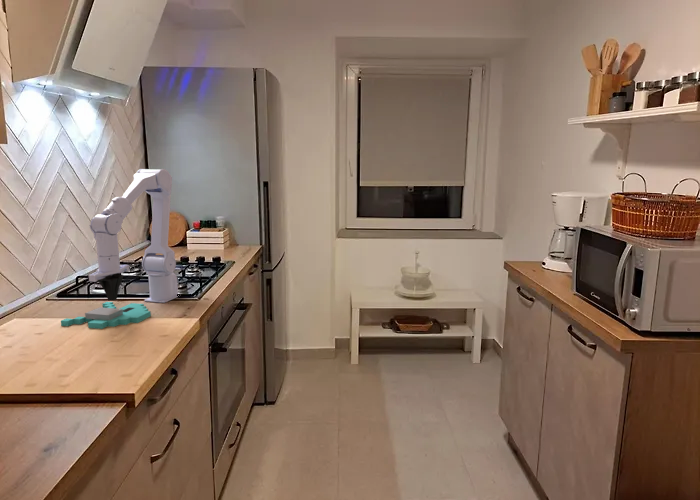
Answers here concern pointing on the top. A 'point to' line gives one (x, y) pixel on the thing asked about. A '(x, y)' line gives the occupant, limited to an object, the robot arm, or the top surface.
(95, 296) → the top surface
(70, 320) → the alien figure
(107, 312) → the tile
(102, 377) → the top surface
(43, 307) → the top surface
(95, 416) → the top surface
